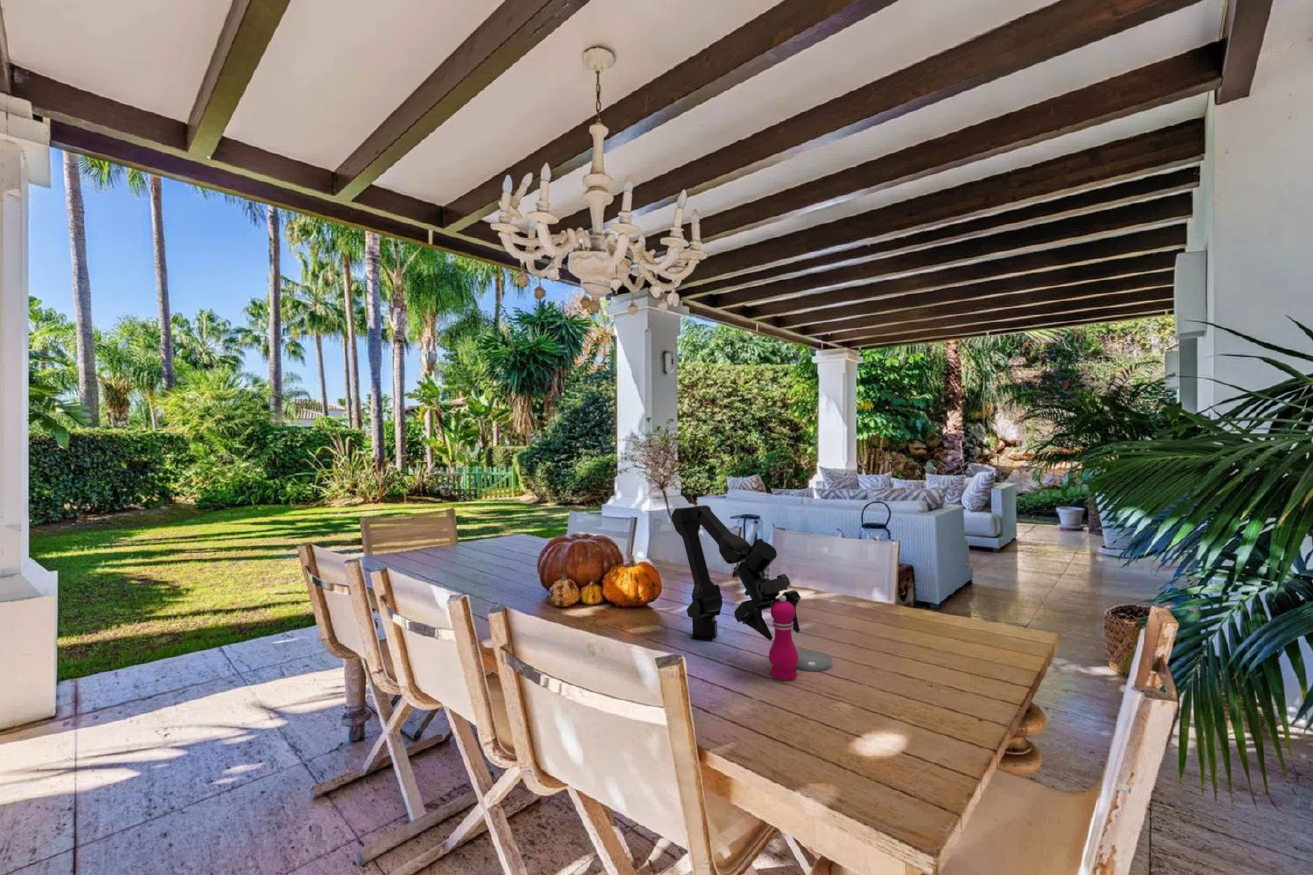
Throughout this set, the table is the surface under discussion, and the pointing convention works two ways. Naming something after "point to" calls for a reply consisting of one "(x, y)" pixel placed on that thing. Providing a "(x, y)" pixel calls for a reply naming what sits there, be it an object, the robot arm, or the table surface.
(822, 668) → the slate coaster
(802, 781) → the table surface
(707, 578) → the robot arm
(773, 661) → the pepper mill
